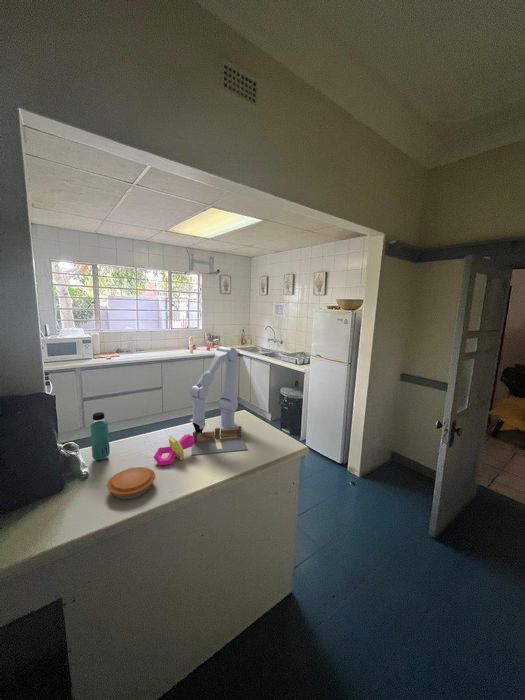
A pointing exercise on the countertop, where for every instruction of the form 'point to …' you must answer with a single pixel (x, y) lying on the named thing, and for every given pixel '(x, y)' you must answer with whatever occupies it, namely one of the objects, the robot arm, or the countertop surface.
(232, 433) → the fence fixed
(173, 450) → the toy
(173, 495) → the countertop surface
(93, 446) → the beverage bottle
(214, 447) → the card
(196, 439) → the fence hinged
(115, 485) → the pie
